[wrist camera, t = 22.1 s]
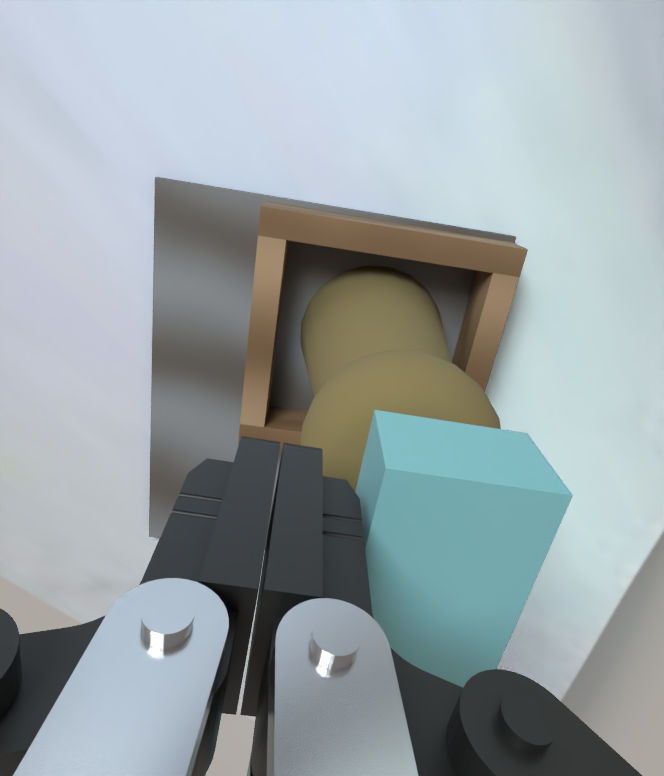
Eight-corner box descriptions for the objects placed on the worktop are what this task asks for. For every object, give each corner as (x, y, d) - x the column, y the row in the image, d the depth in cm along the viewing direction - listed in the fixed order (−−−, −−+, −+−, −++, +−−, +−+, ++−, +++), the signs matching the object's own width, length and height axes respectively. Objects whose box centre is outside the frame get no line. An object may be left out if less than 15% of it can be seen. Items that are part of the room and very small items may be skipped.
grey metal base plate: (157, 177, 20) (137, 179, 17) (513, 236, 21) (534, 244, 18) (150, 532, 26) (135, 565, 24) (418, 563, 27) (426, 597, 25)
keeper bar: (383, 842, 16) (391, 933, 14) (265, 833, 15) (257, 923, 14) (542, 435, 10) (590, 498, 8) (358, 407, 10) (366, 465, 8)
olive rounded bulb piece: (414, 240, 20) (500, 321, 10) (460, 371, 23) (568, 542, 13) (275, 300, 21) (230, 429, 11) (333, 420, 23) (339, 616, 13)
